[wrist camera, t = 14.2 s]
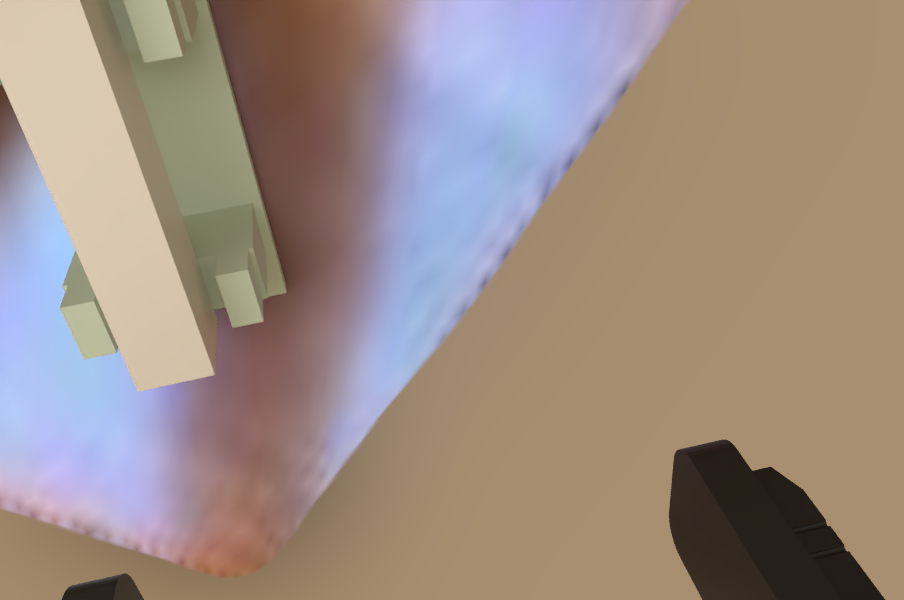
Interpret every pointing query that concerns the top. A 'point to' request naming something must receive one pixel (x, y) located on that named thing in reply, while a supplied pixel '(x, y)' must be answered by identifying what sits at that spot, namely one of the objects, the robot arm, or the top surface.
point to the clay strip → (109, 183)
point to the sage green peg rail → (191, 166)
